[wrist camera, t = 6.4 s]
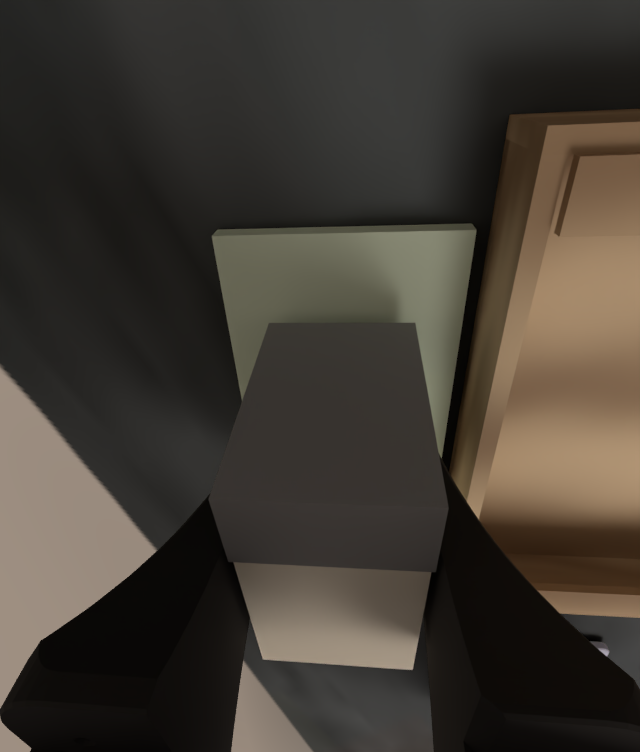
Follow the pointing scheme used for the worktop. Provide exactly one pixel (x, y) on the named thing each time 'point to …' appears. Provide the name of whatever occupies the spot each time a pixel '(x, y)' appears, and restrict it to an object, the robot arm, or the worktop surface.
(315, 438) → the box
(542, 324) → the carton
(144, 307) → the worktop surface
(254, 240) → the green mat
